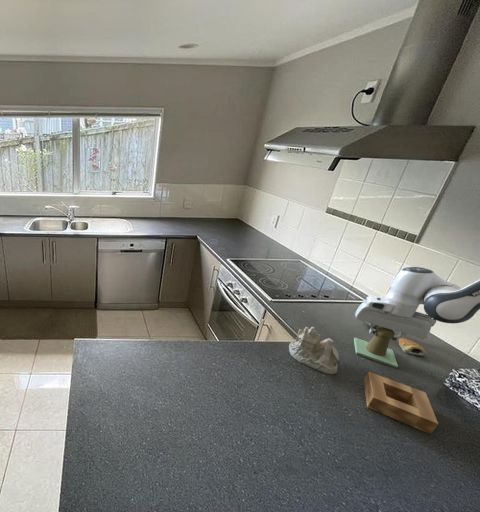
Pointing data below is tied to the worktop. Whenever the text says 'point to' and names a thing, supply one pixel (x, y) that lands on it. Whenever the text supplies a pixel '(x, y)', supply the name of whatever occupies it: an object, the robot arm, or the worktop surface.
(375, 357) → the mat
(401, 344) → the pastry
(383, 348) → the cork
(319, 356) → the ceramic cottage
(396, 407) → the holder
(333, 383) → the worktop surface
